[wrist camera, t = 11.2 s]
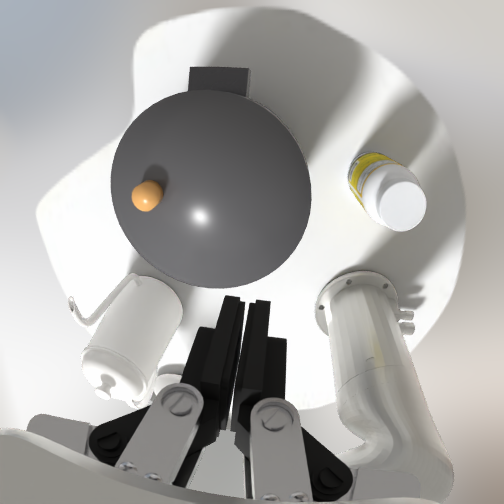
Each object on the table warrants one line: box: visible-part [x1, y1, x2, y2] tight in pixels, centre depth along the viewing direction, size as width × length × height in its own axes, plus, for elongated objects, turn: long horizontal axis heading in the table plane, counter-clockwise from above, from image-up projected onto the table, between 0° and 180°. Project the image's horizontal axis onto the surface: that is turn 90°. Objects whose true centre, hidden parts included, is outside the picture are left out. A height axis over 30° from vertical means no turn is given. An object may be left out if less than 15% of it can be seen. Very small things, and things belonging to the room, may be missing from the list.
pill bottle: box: [348, 152, 427, 231], centre depth 28 cm, size 6×6×11 cm
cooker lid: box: [111, 90, 311, 288], centre depth 23 cm, size 17×17×3 cm
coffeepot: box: [68, 273, 183, 409], centre depth 37 cm, size 11×25×19 cm, turn 0°
